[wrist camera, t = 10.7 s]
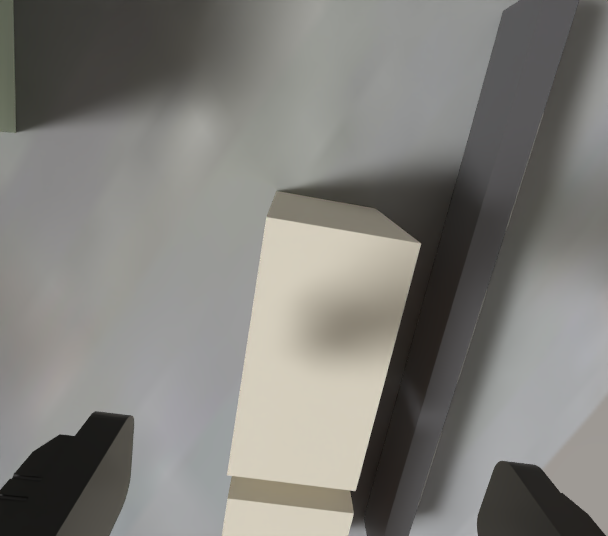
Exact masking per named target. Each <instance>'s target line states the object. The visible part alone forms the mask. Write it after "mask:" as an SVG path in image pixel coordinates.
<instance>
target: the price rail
mask: <svg viewBox="0 0 608 536" xmlns="http://www.w3.org/2000/svg"><path fill="white" fill-rule="evenodd" d="M578 3H579V0H519V1H518V2H516V3H515V4H513V5H512V6H510V7H509V8H507V9H506V10H504V11H503V14H502V18H501V21H500V25H499V29H498V32H497V36H496V39H495V43H494V47H493V50H492V54H491V58H490V61H489V65H488V68H487V72H486V76H485V79H484V83H483V87H482V90H481V94H480V98H479V101H478V105H477V108H476V112H475V116H474V119H473V123H472V127H471V130H470V134H469V138H468V141H467V145H466V148H465V152H464V156H463V159H462V163H461V167H460V170H459V174H458V178H457V181H456V185H455V188H454V192H453V196H452V199H451V203H450V207H449V210H448V214H447V218H446V221H445V225H444V228H443V232H442V236H441V239H440V243H439V247H438V250H437V254H436V258H435V261H434V265H433V268H432V272H431V276H430V279H429V283H428V287H427V290H426V294H425V298H424V301H423V305H422V308H421V312H420V316H419V319H418V323H417V327H416V330H415V334H414V337H413V341H412V345H411V348H410V352H409V356H408V359H407V363H406V367H405V370H404V374H403V377H402V381H401V385H400V388H399V392H398V396H397V399H396V403H395V407H394V410H393V414H392V417H391V421H390V425H389V428H388V432H387V436H386V439H385V443H384V447H383V450H382V454H381V457H380V461H379V465H378V468H377V472H376V476H375V479H374V483H373V487H372V490H371V494H370V497H369V501H368V505H367V508H366V512H365V516H364V522H365V528H366V533H367V536H409V533H410V530H411V526H412V523H413V520H414V517H415V514H416V511H417V508H418V506H419V503H420V499H421V496H422V493H423V490H424V487H425V484H426V481H427V478H428V474H429V471H430V468H431V465H432V462H433V459H434V456H435V452H436V449H437V446H438V443H439V440H440V437H441V434H442V429H443V426H444V423H445V420H446V417H447V414H448V410H449V407H450V404H451V401H452V398H453V395H454V392H455V388H456V385H457V383H458V380H459V377H460V374H461V371H462V368H463V365H464V362H465V359H466V355H467V352H468V349H469V346H470V343H471V340H472V337H473V333H474V330H475V327H476V324H477V321H478V318H479V315H480V312H481V308H482V305H483V302H484V299H485V296H486V293H487V288H488V285H489V282H490V279H491V276H492V272H493V269H494V266H495V263H496V260H497V257H498V254H499V250H500V247H501V244H502V241H503V238H504V235H505V232H506V230H507V227H508V224H509V221H510V218H511V214H512V211H513V208H514V205H515V202H516V199H517V196H518V193H519V189H520V186H521V183H522V180H523V177H524V174H525V171H526V167H527V164H528V161H529V158H530V155H531V152H532V149H533V146H534V142H535V139H536V136H537V133H538V130H539V127H540V124H541V120H542V117H543V114H544V109H545V106H546V103H547V100H548V97H549V94H550V91H551V87H552V84H553V81H554V78H555V75H556V72H557V69H558V65H559V62H560V59H561V56H562V53H563V50H564V47H565V44H566V40H567V37H568V34H569V31H570V28H571V25H572V22H573V18H574V15H575V12H576V9H577V6H578Z"/></svg>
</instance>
